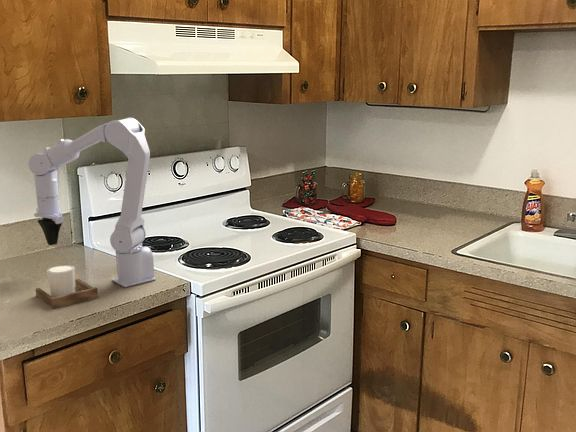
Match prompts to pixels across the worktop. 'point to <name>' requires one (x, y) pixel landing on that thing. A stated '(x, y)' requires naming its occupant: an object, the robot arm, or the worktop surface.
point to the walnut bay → (69, 295)
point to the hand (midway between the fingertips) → (52, 244)
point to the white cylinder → (61, 280)
